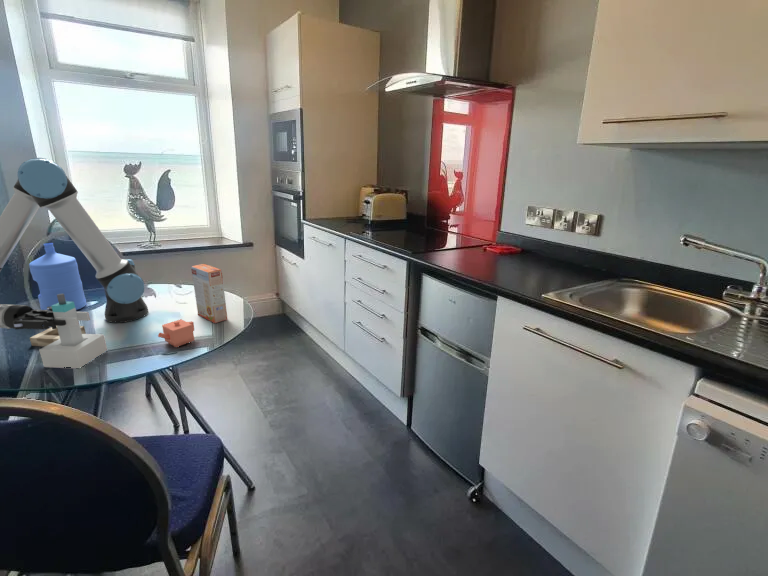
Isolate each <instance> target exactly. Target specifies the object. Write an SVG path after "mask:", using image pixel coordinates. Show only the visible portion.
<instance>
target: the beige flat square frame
mask: <svg viewBox="0 0 768 576" xmlns="http://www.w3.org/2000/svg"><path fill="white" fill-rule="evenodd" d="M56 327H57V326H56ZM80 328H81V332H82V334H87V332H86V329H85V328H86V327H85V326H84V325H80ZM58 339H60V336H59V333H58V329H57V328H56V329H52V327H49V328H48V329H44V331H40V332H39V333H37V334H35V335H32V336H31V337H29V340H30V344H31V347H45V346H47V345H49V344H51V343H53V342H55V341H57V340H58Z"/></svg>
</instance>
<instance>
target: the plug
mask: <svg viewBox="0 0 768 576" xmlns="http://www.w3.org/2000/svg"><path fill="white" fill-rule="evenodd" d="M57 298H58V302H59V303H57V304H54V305H52V310H53V314H54V318H56V317H74V318H77V320H78V317H77V313H76V312H77V310H76V308H75V304H74V302H68V301H66V300H65V296H64V294H58V295H57ZM55 320H56V319H55ZM78 324H79V326H77V327H72V326H57V329H58V333H59V336H60V340H61V344H62V346H76V345H78V344H79V343H81V342H83V337H82V332H81V328H80V326H81V325H80V320H78Z"/></svg>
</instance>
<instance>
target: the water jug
mask: <svg viewBox="0 0 768 576" xmlns="http://www.w3.org/2000/svg"><path fill="white" fill-rule="evenodd" d="M43 246H44V248H43V249H44V251H45V253H44V254H43V255H42V256H39V257H38V258H36V259H34V260H32V261H30V263H29V264H28V267H29V271H30V274H31V276H32V280H33V281H34V282H36V283H37V286H38V290H39V294H38V295H37V298H38V302H39V307H40V310H47V307H49V306H51V307H52V305H54V304H57V303H59V302H58V298H57V295H58V294H64V296H65V300H66V301H68V302H74V304H75V308H76V311H78V310H81V309H83V308H85V306H86V305H87V300H86V296H85V292H84V288H83V282H82V280H81V275H80V270H79V265H78V262H77V258H75V257H74V256H71V255H67V254H62V253H59V252H58V253H57V252H56V250H55V246H54V242H48V243H43Z"/></svg>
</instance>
